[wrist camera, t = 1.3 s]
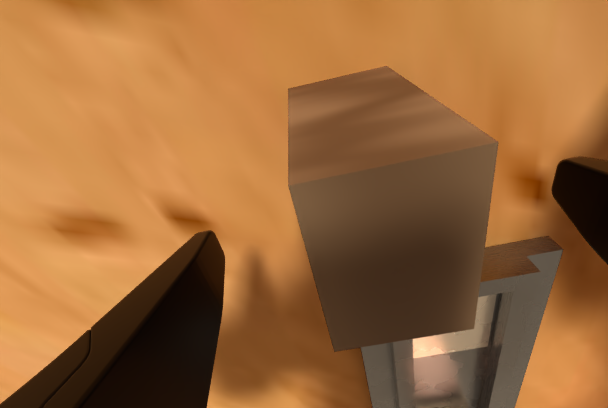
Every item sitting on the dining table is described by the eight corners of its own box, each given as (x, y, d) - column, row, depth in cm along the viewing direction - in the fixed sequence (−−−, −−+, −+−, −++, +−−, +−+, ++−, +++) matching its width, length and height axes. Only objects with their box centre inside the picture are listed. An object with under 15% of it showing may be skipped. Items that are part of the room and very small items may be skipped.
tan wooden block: (386, 66, 11) (498, 142, 5) (395, 199, 14) (472, 342, 8) (288, 88, 11) (288, 185, 5) (317, 214, 14) (338, 364, 8)
